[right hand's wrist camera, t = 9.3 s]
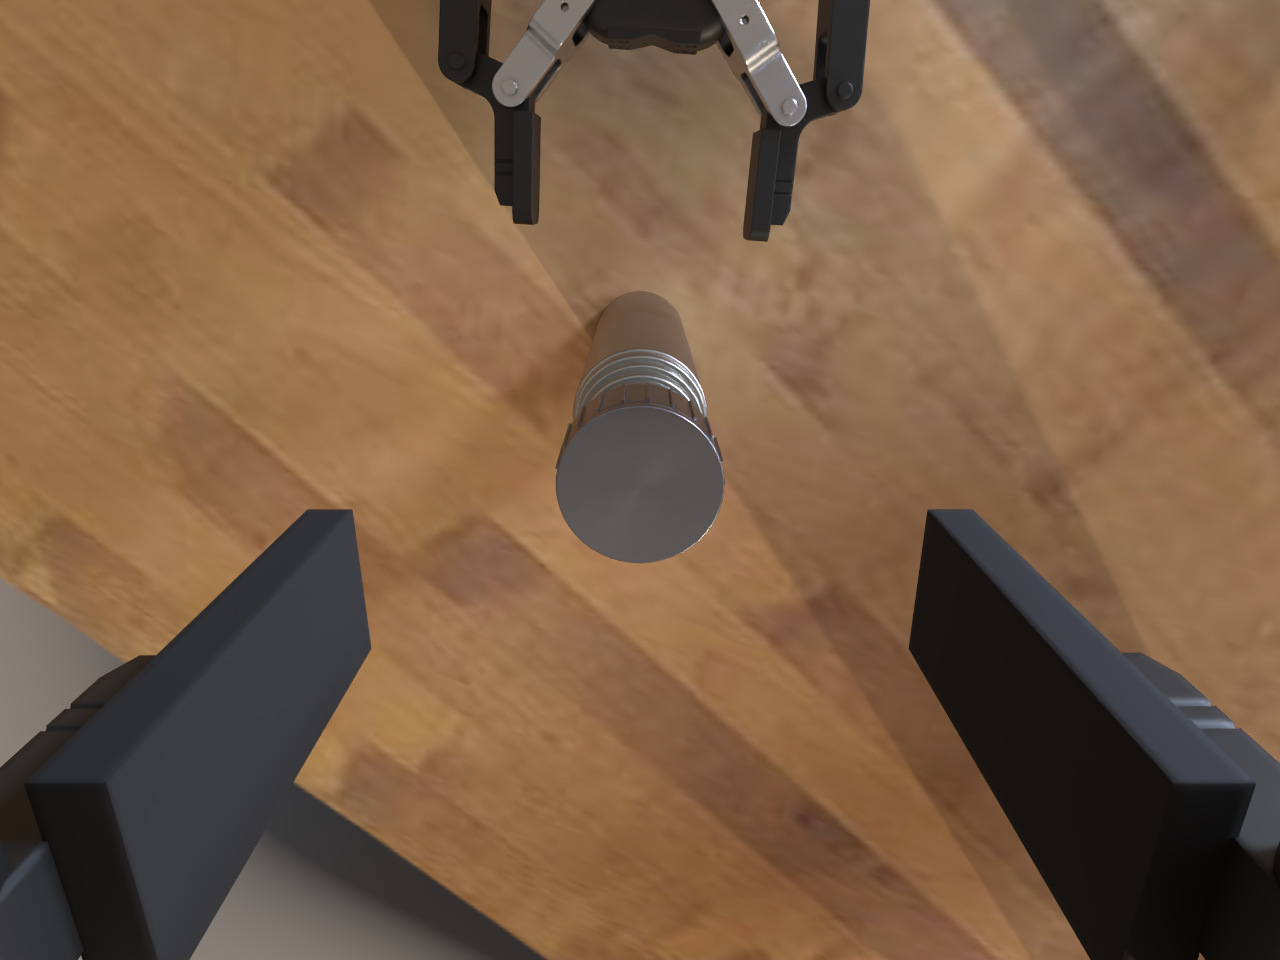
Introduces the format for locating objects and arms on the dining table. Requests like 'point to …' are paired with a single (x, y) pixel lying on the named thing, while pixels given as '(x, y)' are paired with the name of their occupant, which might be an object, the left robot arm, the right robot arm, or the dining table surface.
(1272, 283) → the dining table surface
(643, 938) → the dining table surface
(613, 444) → the cap
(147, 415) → the dining table surface
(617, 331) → the bottle
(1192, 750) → the right robot arm
